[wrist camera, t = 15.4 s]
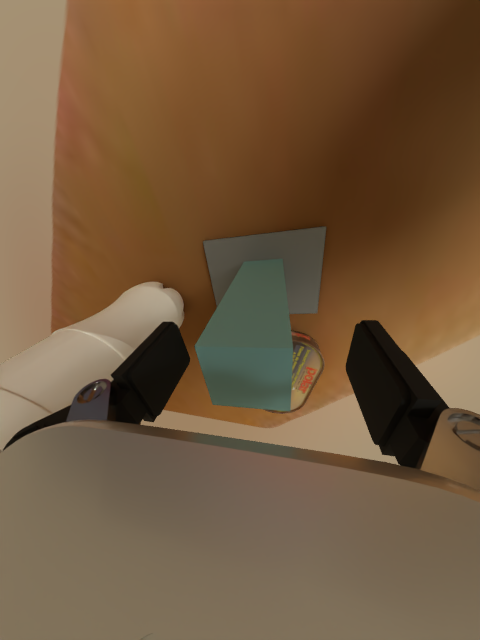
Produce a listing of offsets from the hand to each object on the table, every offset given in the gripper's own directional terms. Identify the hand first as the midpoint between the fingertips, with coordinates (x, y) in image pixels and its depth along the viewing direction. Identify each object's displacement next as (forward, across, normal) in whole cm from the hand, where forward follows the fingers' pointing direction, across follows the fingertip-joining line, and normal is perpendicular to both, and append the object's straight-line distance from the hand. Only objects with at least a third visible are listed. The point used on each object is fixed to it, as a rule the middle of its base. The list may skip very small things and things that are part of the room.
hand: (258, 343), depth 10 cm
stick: (+12, +1, +1) cm, 12 cm away
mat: (+12, +1, +1) cm, 12 cm away
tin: (+11, +3, +14) cm, 18 cm away
